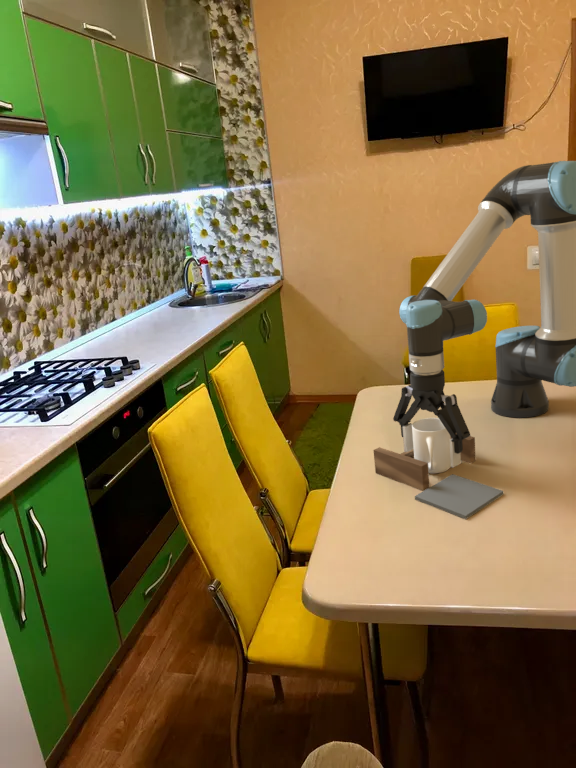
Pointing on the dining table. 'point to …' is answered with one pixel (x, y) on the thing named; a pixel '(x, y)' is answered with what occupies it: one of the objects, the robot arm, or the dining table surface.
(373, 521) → the dining table surface
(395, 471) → the frame
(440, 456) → the mug
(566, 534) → the dining table surface
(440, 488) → the coaster
